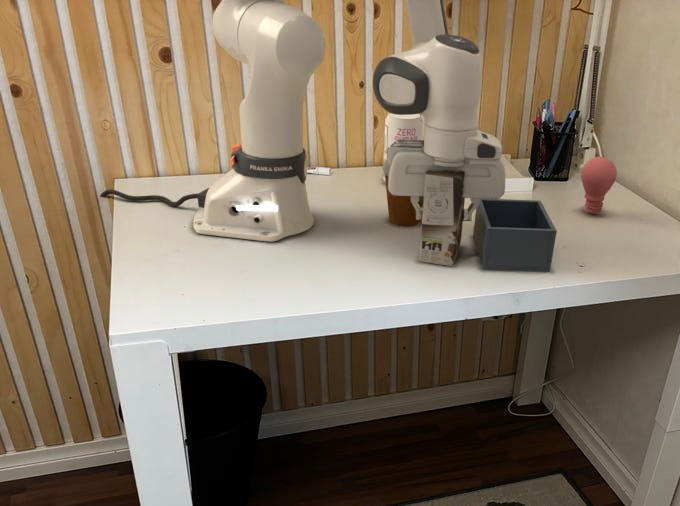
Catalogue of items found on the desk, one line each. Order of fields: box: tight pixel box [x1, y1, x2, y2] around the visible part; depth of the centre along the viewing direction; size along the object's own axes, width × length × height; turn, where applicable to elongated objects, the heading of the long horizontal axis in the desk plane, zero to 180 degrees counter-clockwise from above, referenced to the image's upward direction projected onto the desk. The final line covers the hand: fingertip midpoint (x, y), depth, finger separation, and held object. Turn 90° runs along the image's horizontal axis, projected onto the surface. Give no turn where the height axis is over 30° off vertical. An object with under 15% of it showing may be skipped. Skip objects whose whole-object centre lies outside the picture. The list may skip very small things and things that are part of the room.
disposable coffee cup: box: [382, 159, 424, 228], centre depth 143 cm, size 10×10×12 cm
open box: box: [472, 198, 558, 273], centre depth 134 cm, size 12×15×8 cm
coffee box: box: [418, 170, 466, 267], centre depth 129 cm, size 9×6×16 cm
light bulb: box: [580, 156, 618, 215], centre depth 152 cm, size 7×7×12 cm
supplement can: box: [382, 112, 424, 183], centre depth 161 cm, size 8×8×15 cm
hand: (443, 219), depth 130 cm, fingers closed on coffee box, 7 cm apart
